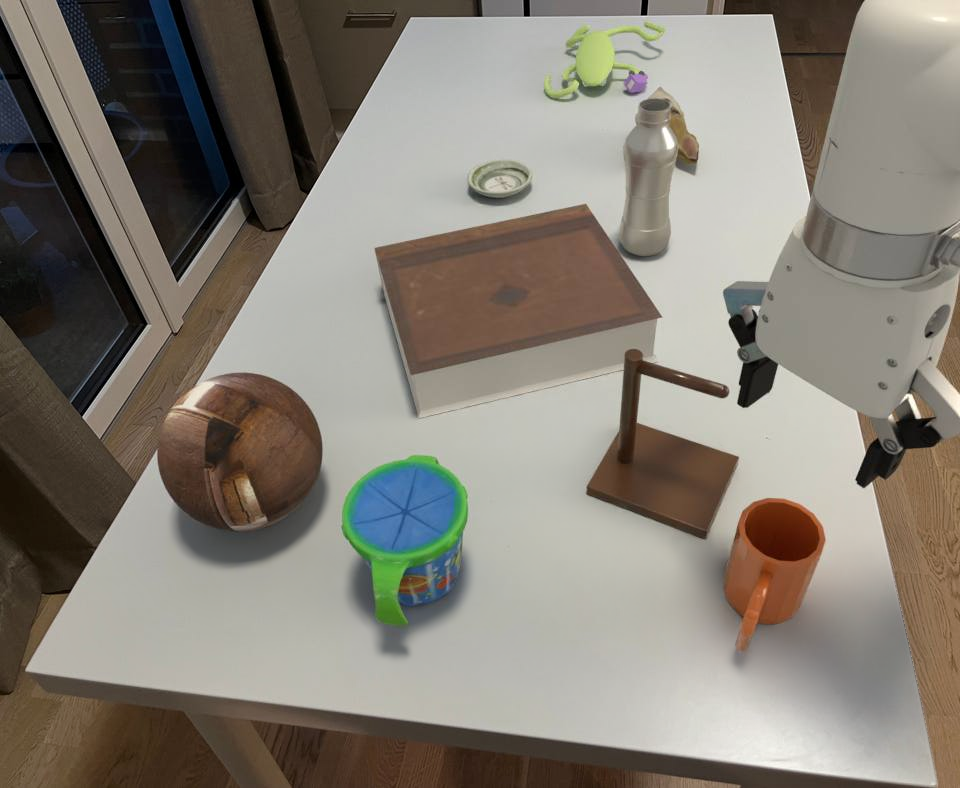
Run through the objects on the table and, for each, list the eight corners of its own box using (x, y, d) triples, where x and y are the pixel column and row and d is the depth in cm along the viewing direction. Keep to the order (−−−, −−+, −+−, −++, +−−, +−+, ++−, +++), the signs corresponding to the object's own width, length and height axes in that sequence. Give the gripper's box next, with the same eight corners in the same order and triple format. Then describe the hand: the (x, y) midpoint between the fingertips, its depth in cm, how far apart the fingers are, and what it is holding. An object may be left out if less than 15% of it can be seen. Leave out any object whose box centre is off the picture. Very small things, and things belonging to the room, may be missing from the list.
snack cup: (396, 495, 80) (380, 427, 73) (497, 515, 77) (490, 447, 70) (333, 634, 70) (306, 571, 62) (447, 663, 67) (432, 600, 60)
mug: (735, 548, 73) (752, 487, 66) (809, 576, 70) (833, 515, 64) (697, 646, 66) (711, 589, 60) (776, 681, 64) (799, 625, 57)
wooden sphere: (223, 439, 87) (175, 336, 77) (353, 449, 85) (323, 343, 74) (163, 555, 77) (99, 454, 66) (310, 569, 74) (268, 467, 64)
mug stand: (737, 464, 79) (764, 351, 69) (705, 539, 74) (729, 428, 63) (625, 426, 84) (633, 315, 73) (586, 493, 78) (589, 383, 68)
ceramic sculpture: (696, 75, 122) (706, 126, 112) (690, 126, 128) (699, 179, 119) (625, 78, 123) (629, 129, 113) (623, 129, 130) (626, 181, 120)
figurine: (667, 45, 152) (670, 14, 148) (643, 107, 135) (645, 75, 131) (572, 40, 157) (573, 11, 153) (538, 100, 140) (537, 68, 136)
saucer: (455, 190, 120) (454, 175, 119) (503, 166, 124) (502, 152, 123) (497, 214, 115) (496, 199, 113) (546, 188, 119) (545, 173, 117)
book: (382, 289, 104) (374, 247, 100) (585, 245, 108) (586, 203, 103) (418, 418, 87) (410, 375, 83) (657, 361, 91) (662, 317, 86)
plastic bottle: (669, 263, 104) (685, 117, 89) (616, 262, 105) (624, 117, 91) (668, 235, 108) (684, 92, 94) (618, 234, 109) (626, 92, 95)
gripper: (1078, 265, 40) (959, 479, 52) (789, 147, 50) (745, 349, 62) (998, 332, 37) (891, 542, 49) (708, 192, 47) (679, 394, 59)
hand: (810, 434), depth 56 cm, fingers open, 9 cm apart
